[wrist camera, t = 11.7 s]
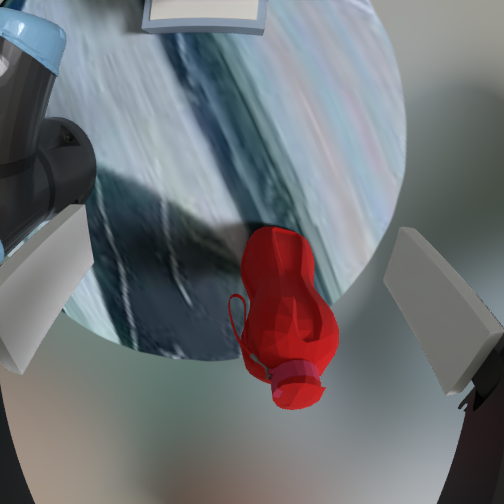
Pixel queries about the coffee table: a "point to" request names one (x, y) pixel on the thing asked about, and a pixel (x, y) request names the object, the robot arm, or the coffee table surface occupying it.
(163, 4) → the base plinth
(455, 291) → the robot arm
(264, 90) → the coffee table surface
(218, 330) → the coffee table surface
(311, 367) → the water bottle
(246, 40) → the coffee table surface
